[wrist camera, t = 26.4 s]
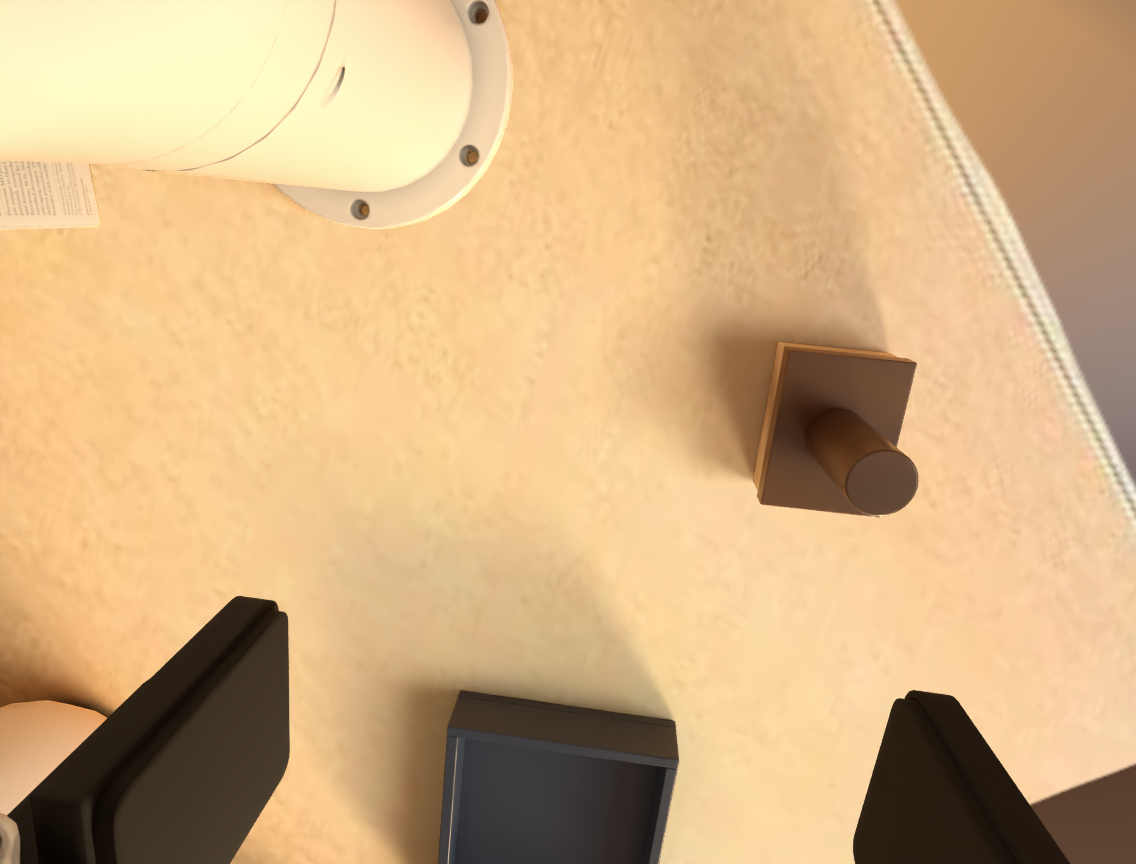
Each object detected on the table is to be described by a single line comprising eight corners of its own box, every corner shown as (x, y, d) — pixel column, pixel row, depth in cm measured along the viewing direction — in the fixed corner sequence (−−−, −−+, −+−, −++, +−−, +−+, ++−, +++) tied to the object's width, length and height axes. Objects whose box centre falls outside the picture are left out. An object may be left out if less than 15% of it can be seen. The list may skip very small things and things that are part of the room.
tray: (460, 690, 40) (447, 726, 37) (675, 721, 39) (679, 760, 36) (444, 904, 45) (431, 951, 42) (635, 934, 44) (636, 984, 41)
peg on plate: (775, 338, 33) (826, 379, 25) (893, 351, 33) (984, 395, 24) (750, 482, 35) (788, 564, 27) (860, 495, 35) (933, 581, 26)
